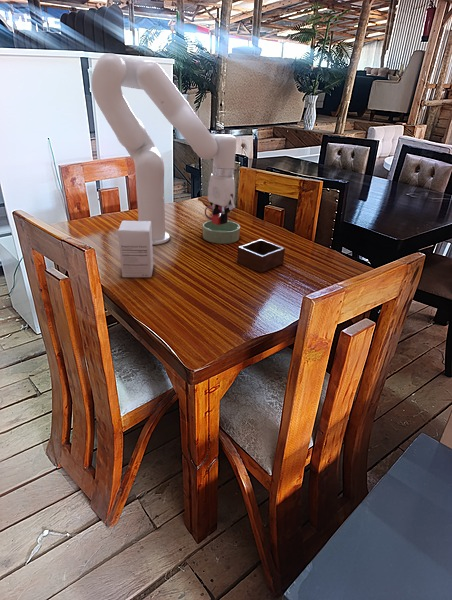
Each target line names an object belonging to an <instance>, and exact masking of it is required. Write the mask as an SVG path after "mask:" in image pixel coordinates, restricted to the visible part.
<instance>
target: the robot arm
mask: <svg viewBox="0 0 452 600" xmlns="http://www.w3.org/2000/svg"><path fill="white" fill-rule="evenodd" d="M123 87H124V88H128V89H129V88H130V89H136V90H141V91H142V90H143V91H144V92H145V94H146V95H147V96H148V98H149V99H150V100H151V101H152V103H153V104H154V105H155V107H157V109H158V110H159V111H160V112H161V114H162V115H163V116H164V118H165V119H166V120H167V122H169V123H170V125H172V127H174V128H175V129H176V130H177V131H178V133H179V134H180V135H181V136H182V137H183V139H185V141H186V142H187V143H188V145H189V146H190V148H191V149H192V150H193V152H194V153H195V154H196V155H197V156H198V158H200V159H202V160H211V159H212V160H213V162H212V163H213V164H212V167H211V169H212V173H211V174H210V177H209V181H208V186H207V188H208V189H207V202H208V203H209V204H210V207H212V209H211V211H212V210H213V215H215V214H220V210H219V206H222V213H221V216H220V217H221V218H220V224H225V223H227V217H228V218H229V213H230V212H231V211H233V210H235V209H236V205H235V197H236V183H235V182H236V181H235V177H234V176H235V164H236V153H237V152H236V151H237V137H236V136H234V135H231V134H225V133H224V134H223V133H221V134H220V133H219V134H214V133H211V132H210V131H209V129H208V128H207V126H205V124H204V123H203V121H202V120H201V119H200V117H198V114H197V113H196V112H195V111H194V109H193V108H192V106H191V105H190V103H189V102H188V101H187V100H186V98H185V97H184V96H183V94H182V93H181V92H180V90H179V89H178V87H177V85H175V84H174V82H173V81H172V80H171V78H170V77H169V75H168V74H167V73H166V71H165V70H164V69H163V68H162V66H161V65H160V64H159V63H158V62H156V61H154V60H142V59H136V58H131V57H126V56H121V55H117V54H116V53H112V52H108V53H104V54H102V55H101V56H100V57H99V59H98V60H97V62H96V63H95V65H94V68H93V70H92V74H91V91H92V95H93V97H94V101H95V103H96V104H97V107H98V108H99V111H101V113H102V115H103V116H104V119H105V120H106V121H107V123H108V125H109V126H110V129H112V131H113V133H114V135H115V137H116V139H117V141H118V142H119V144H121V146H122V147H124V148H125V150H126V152H127V153H128V155H129V156H130V158H131V160H132V161H133V163H134V174H135V189H136V204H137V217H138V218H137V219H138V220H137V221H151V229H152V246H153V245H155V246H156V245H163V244H166V243H167V242H169V240H170V235H169V233H167V232H166V211H165V210H166V209H165V208H166V207H165V164H164V163H165V162H164V159H163V157H162V154H161V153H160V151H159V150H158V148H157V146H156V144H155V142H154V141H153V139H152V137H151V136H150V134H149V132H148V131H147V129H146V127H145V126H144V124H143V122H142V121H141V120H140V119H139V118H137V116H136V115H135V112H134V111H133V110H132V108H131V107H130V105H129V102H128V100H127V99H126V97H125V96H124V94H123V91H122V88H123ZM225 207H226V209H225Z"/></svg>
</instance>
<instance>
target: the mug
mask: <svg viewBox="0 0 452 600" xmlns="http://www.w3.org/2000/svg"><path fill="white" fill-rule="evenodd" d="M208 209H211V212H212V213H211V215H213V210H212V206H206V207H205V209H204V215H205V217H206V218H207V219H209V220H210V221H211V220H212V217H211V216H208V214H207V210H208ZM225 209H226V207H225ZM219 210H220V213H222V206H219Z"/></svg>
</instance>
